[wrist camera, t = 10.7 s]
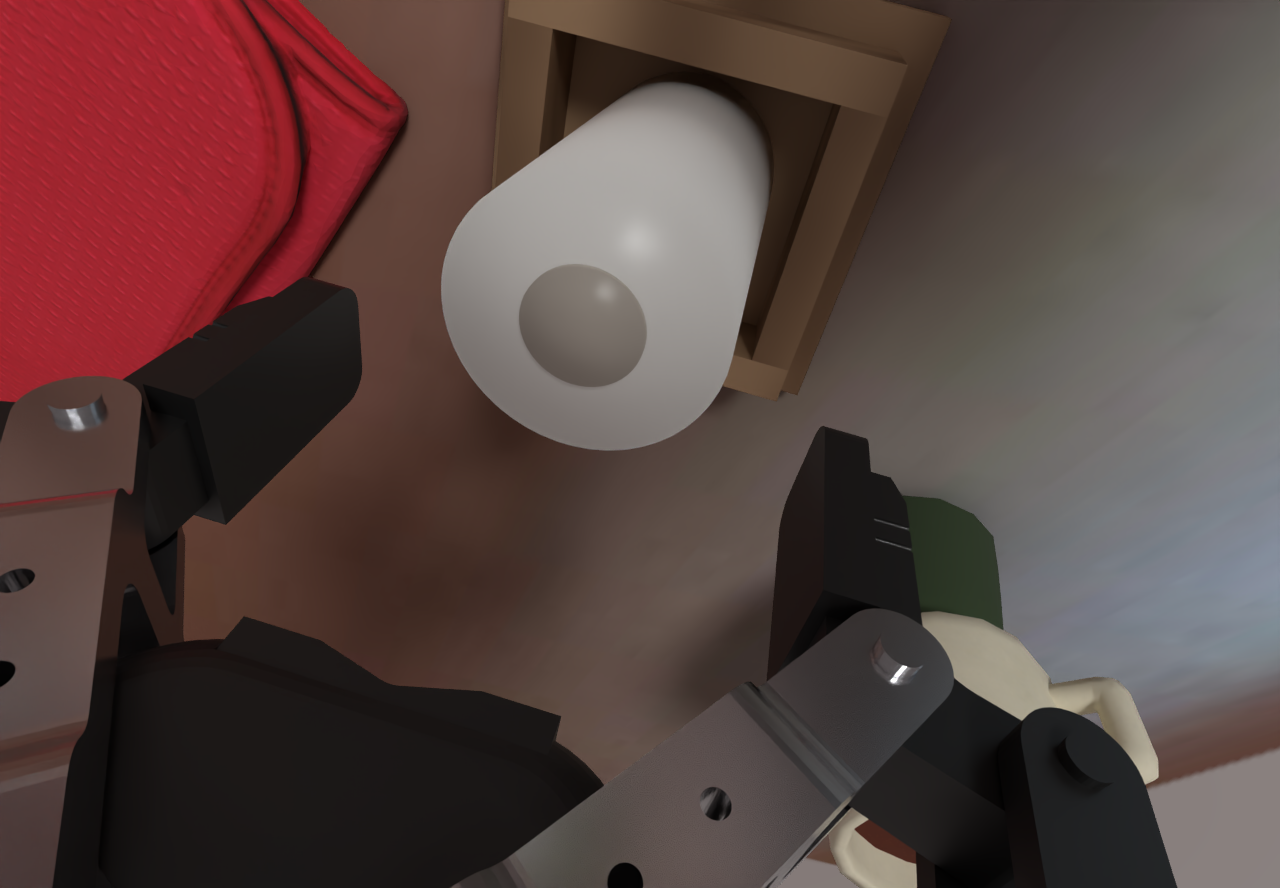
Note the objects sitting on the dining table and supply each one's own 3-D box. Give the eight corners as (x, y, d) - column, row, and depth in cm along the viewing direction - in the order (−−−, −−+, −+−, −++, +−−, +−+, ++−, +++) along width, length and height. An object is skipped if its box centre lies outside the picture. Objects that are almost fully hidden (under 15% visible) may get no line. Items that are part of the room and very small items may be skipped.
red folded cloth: (432, 115, 24) (377, 141, 21) (92, 582, 45) (42, 627, 42) (-20, -344, 19) (-173, -396, 16) (-159, 421, 41) (-235, 459, 38)
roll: (794, 89, 20) (767, 206, 11) (752, 275, 23) (703, 481, 14) (603, 56, 20) (428, 142, 11) (588, 242, 24) (444, 420, 15)
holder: (946, 15, 19) (969, 29, 16) (797, 381, 26) (796, 433, 23) (524, -94, 19) (475, -100, 17) (493, 295, 27) (455, 336, 24)
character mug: (823, 626, 34) (828, 932, 23) (755, 521, 31) (726, 818, 20) (1076, 566, 29) (1224, 921, 18) (1022, 435, 26) (1164, 769, 15)
